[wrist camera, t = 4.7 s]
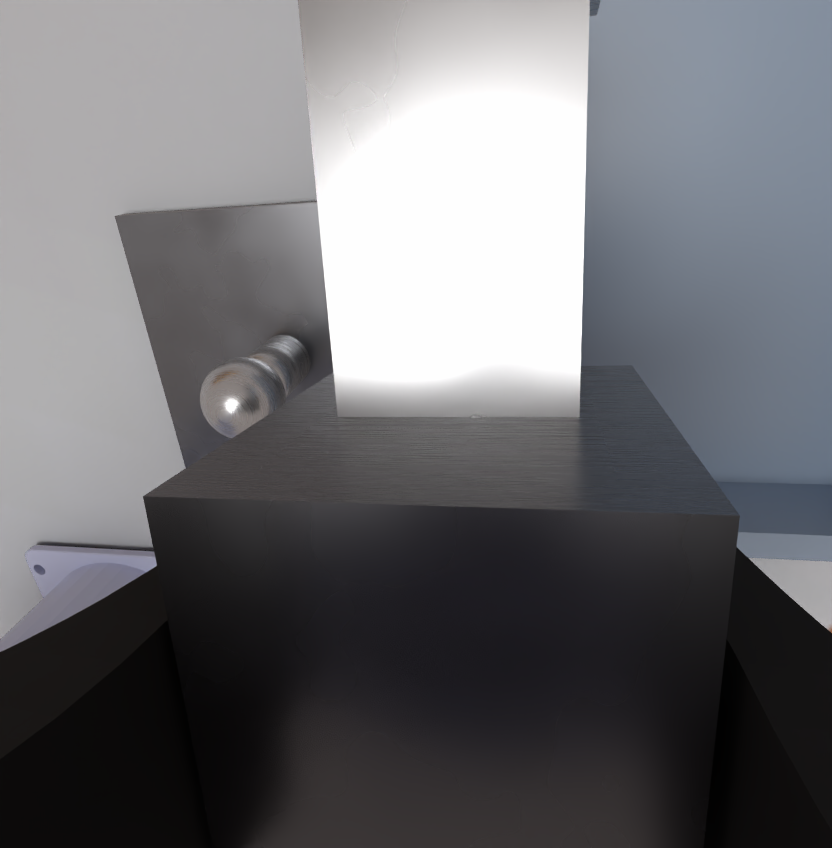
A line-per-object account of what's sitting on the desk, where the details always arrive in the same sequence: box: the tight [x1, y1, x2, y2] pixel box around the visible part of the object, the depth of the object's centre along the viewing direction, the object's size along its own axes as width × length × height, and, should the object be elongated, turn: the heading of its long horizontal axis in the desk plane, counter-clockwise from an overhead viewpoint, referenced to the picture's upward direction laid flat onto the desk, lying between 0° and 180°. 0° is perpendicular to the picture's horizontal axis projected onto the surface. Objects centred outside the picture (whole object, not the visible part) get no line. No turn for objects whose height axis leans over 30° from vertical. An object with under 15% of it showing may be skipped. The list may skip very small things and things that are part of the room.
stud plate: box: [115, 201, 333, 468], centre depth 17 cm, size 9×9×5 cm
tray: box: [581, 0, 832, 562], centre depth 14 cm, size 16×11×3 cm
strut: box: [143, 0, 740, 848], centre depth 7 cm, size 11×5×6 cm, turn 5°
